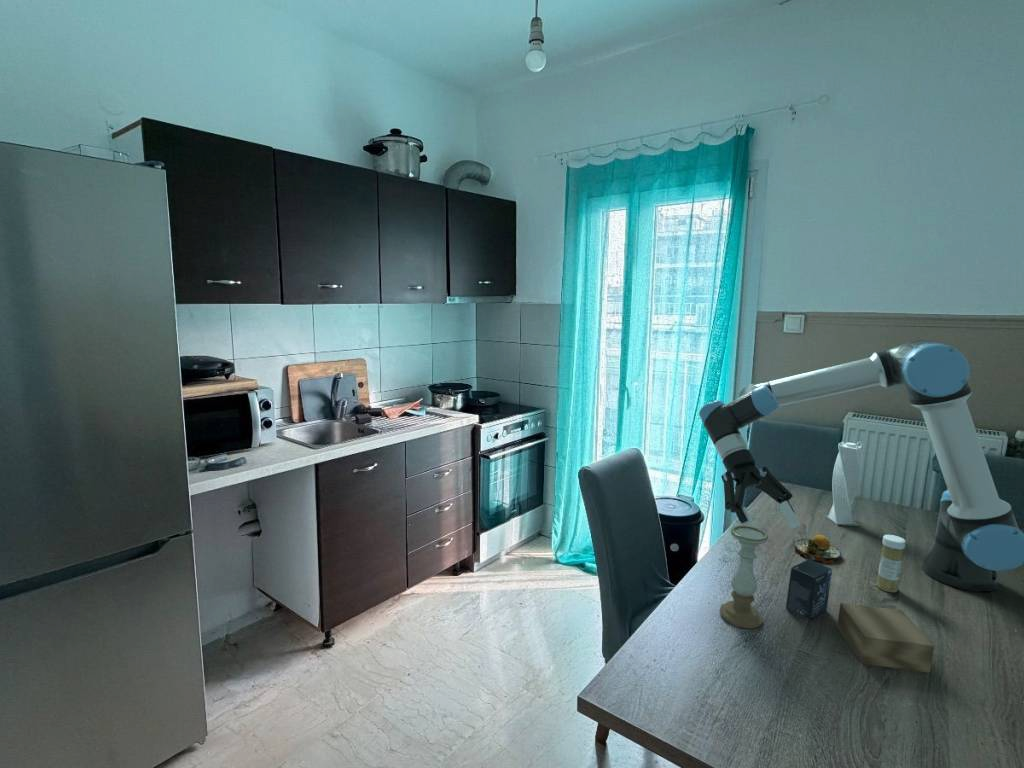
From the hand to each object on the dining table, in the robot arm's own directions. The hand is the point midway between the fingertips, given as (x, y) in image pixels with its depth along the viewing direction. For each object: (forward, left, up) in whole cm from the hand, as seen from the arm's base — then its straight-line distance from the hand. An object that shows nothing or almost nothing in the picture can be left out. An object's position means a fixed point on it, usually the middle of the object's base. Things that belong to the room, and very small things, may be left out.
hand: (775, 531), depth 131 cm
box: (-5, +9, -15) cm, 18 cm away
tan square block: (-15, +21, -15) cm, 30 cm away
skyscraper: (-36, -47, -15) cm, 61 cm away
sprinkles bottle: (-29, -5, -15) cm, 33 cm away
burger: (-19, -22, -15) cm, 33 cm away
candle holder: (+11, +15, -15) cm, 24 cm away
